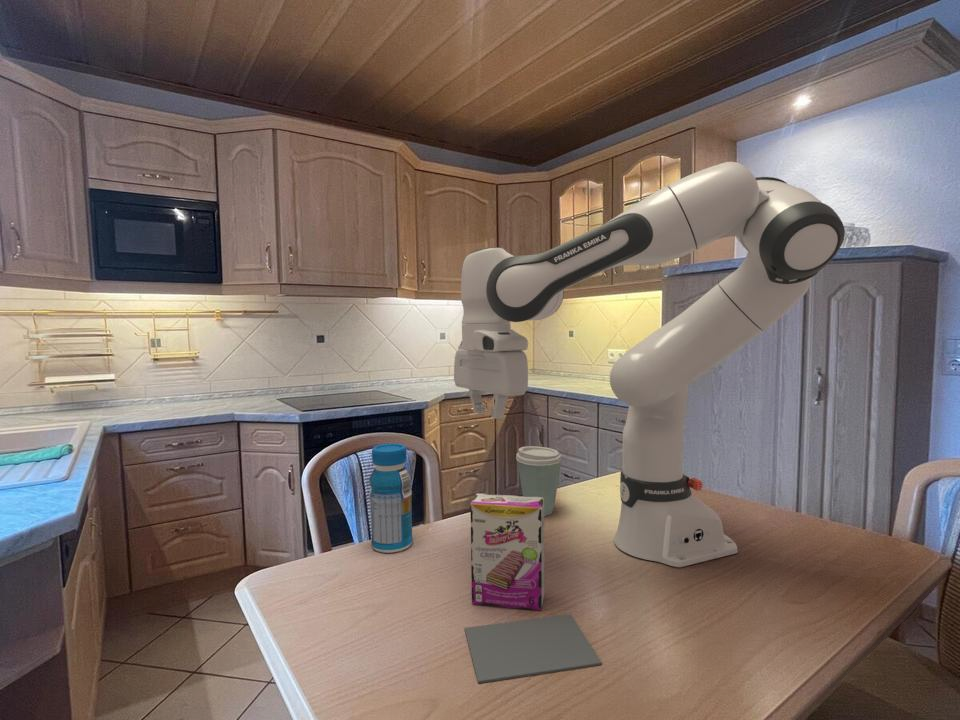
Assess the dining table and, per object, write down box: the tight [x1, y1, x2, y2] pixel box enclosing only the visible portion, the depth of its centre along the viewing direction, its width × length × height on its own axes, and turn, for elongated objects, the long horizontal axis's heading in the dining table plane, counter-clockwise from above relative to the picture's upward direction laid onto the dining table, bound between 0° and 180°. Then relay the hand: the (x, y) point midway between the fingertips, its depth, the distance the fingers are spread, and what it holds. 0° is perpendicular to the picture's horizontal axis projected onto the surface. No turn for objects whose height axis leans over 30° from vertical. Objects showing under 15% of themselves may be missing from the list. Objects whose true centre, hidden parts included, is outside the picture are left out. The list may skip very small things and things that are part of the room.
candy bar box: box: [469, 493, 545, 611], centre depth 77 cm, size 11×5×16 cm, turn 78°
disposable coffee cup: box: [515, 445, 563, 517], centre depth 115 cm, size 11×11×15 cm
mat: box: [464, 613, 603, 684], centre depth 67 cm, size 16×11×1 cm
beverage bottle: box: [368, 443, 414, 554], centre depth 99 cm, size 8×8×20 cm
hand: (488, 415), depth 90 cm, fingers open, 5 cm apart
